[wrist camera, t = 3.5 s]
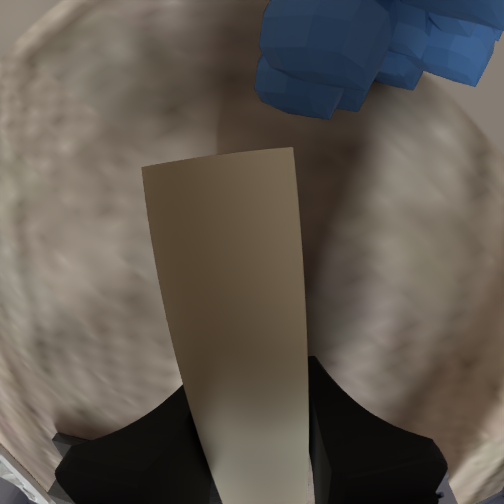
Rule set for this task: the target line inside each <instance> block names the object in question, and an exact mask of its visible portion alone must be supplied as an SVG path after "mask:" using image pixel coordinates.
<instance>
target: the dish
mask: <svg viewBox="0 0 504 504" xmlns="http://www.w3.org/2000/svg"><path fill="white" fill-rule="evenodd" d="M0 477H2V478H4V479H5V480H7V481H9V482H11V483H13V484H14V485H16V486H17V487H19V488H20V489H21V490H22V491H23V492H24V493H25V494H26V495H27V497H28V498H29V499H30V500H32V501H34V502H36V503H38V504H55V502H54V501H53V500H52V499H51V498H50V497H49V496H48V494H47V492H46V491H45V490H44V489H43V488H42V487H41V486H40V485H39V484H38V482H37V481H36V480H35V479H34V478H33V477H32V476H31V475H30V474H29V473H28V472H27V471H26V470H25V469H24V468H23V467H22V466H21V465H20V464H19V463H18V462H17V461H16V460H15V459H14V458H13V457H12V456H11V455H10V454H9V453H8V452H7V451H6V450H5V449H4V448H3V447H2V446H1V445H0Z"/></svg>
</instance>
